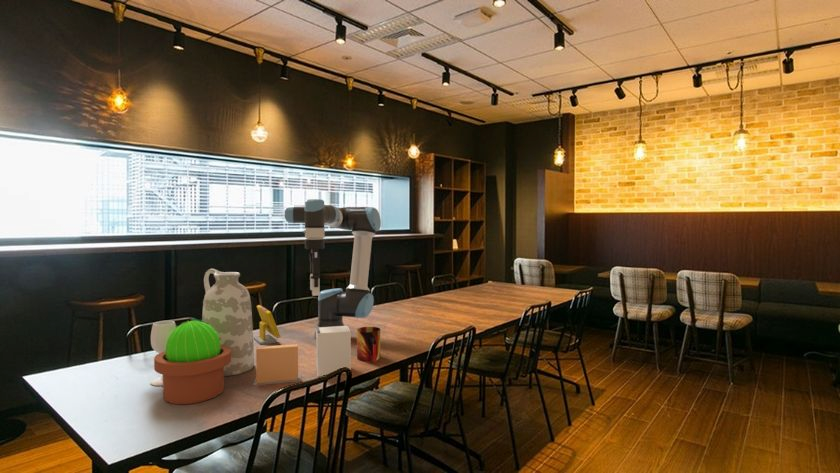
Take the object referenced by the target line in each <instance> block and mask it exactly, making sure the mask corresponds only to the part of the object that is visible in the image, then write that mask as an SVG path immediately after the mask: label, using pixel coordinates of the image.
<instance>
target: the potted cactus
mask: <svg viewBox="0 0 840 473" xmlns="http://www.w3.org/2000/svg"><path fill="white" fill-rule="evenodd" d="M189 320H190V321H189ZM220 340H221V338H220V337H219V336H218V333H217V331H216V330H215V329H214V328H213V327H212V326H210V325H209V324H208V323H206V322H202V319H197V318H191V319H188V320H187V321H184V322H181V324H179V325H177V326H176V328H175V329H174V330H172V333H171V334H170V336H169V338H168V341H166V343H167V344H166V351H164V352H162V353H157V354H156V355H155V356H154V357H153V359H154V360H153V361H154V362H153V364H154V366H153V367H154V368H153V369H154V371H155V372H156V373H158V374H159V375H163V386H162V390H163V391H162V392H163V400H164V401H166V402H167V403H169V404H174V405H191V404H198V403H201V402H205V401H206V402H207V401H208V400H211V399H215V397H218V396H219V395H221V394H222V393H223V391H224V388H225V380H224V379H225V376H224V366H226V365H228V364H229V363H230V362H231V349H230V348H229V347H227V346H223V345H220V343H221V342H220ZM164 346H165V345H164ZM164 349H165V348H164Z"/></svg>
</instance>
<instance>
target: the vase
mask: <svg viewBox="0 0 840 473" xmlns="http://www.w3.org/2000/svg"><path fill="white" fill-rule="evenodd" d="M211 274H213V278H214V279H215V283H214V284H213V285H212V286H210V281H209V277H210V275H211ZM203 276H204V277H203V285H204V290H205V294H204V298H203V301H202V315H201V316H202V318H201V320H202V322H206V323H208V324H209V325H210V326H212V327H213V328H214V329H215V330H216V331H217V333H218V336H219V337H220V338H221V340H220V342H221V343H220V345H223V346H227V347H229V348H230V349H231V362H230V363H229V364H228V365H226V366H224V377H230V376H232V377H233V376H237V375H240V374H244V373H246V372H248V371H250V370H252V369H253V367H254V366H255V358H254V356H255V355H254V354H255V352H254V351H255V350H254V329H253V328H254V327H253V314H252V312H253V310H252V300H251V295H250V292H249V289H248V288H246V286H245V285H243V284H241V283H240V282H239V277H241V273H240V272H237V271H225V272H224V271H221V270H218V269H215V268H210V269H207V270H206V271H205V273H204V275H203Z"/></svg>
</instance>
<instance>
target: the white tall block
mask: <svg viewBox="0 0 840 473" xmlns="http://www.w3.org/2000/svg"><path fill="white" fill-rule="evenodd" d="M315 330H316V338H315V370H316V372H317V373H316V375H317V377H320V378H321V377H324V376H323V375H325V374H328V373H330V372H333V371H335V370H337V369H339V368H343V367H348V368H350V370H351V364H352V363H351V362H352V357H351V355H352V353H351V351H352V350H351V345H352V344H351V343H352V342H351V341H352V339H351V338H352V336H351V330H350V328H349V326H348V325H344V326H334V327H318V326H317V325H316V326H315ZM351 371H352V370H351Z"/></svg>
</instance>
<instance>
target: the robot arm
mask: <svg viewBox="0 0 840 473" xmlns="http://www.w3.org/2000/svg"><path fill="white" fill-rule="evenodd" d="M283 214H284V215H283V217H284V219H285V221H286V222H287V223H289V224H291V223H292V224H304V230H303V231H302V233H304V238H305V240H304V249H306V250H310V253H308V254H309V255H308V256H309V257H308V258H309V262H310V263H309V273H310V275H309V280H310V281H309V285H310V286H309V290H310V291H311V295H312V296H314V297H315V296H318V297H317V304H318V305H317V308H318V310H317V313H318V315H317V316H318V318H317V320H318V321H317V325H316V326H318V327H334V326H345V323H344V321H343V318H344V317H346V318H357V319H359V318H360V319H361V318H362V319H363V318H367V317H368V316H369V315H370V314H371V313H372V310H373V307H374V302H375V301H374V300H375V299H374V295H373V294H372V293H371V290H370V288H369V287H368V284H369V274H370V273H369V271H370V264H371V253H372V242H373V238H374V237H375V236H376V232H378V231H380V230H381V226H382V223H381V222H382V221H381V216H380V212H379V211H378V209H377V208H376V207H372V206H345V207H337V206H335V205H331V204H325V201H324V200H323V199H318V198H316V199H314V198H309V199H308V198H307V199H306V200H305V201H304V204H289V205H287V206H286V207H285V209H284V213H283ZM325 226H328V227H330V228H332V229H333V228H335V229H340V230H346V231H351V234H352V235H353V237H354V239H353V248H352V259H351V267H350V268H351V269H350V278H349V285H348V286H347V287H346V288H345V291H344V289H343V288H340V287H339V288H338V287H337V288H331V289H330V288H329V289H324V290H320V288H321V286H320V284H321V283H320V281H321V280H320V279H321V271H320V268H321V267H320V263H321V253H320V252H319V250H323V249H325V236H326V234H325V232H326V231H325ZM314 339H316V329H315V330H314Z"/></svg>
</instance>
